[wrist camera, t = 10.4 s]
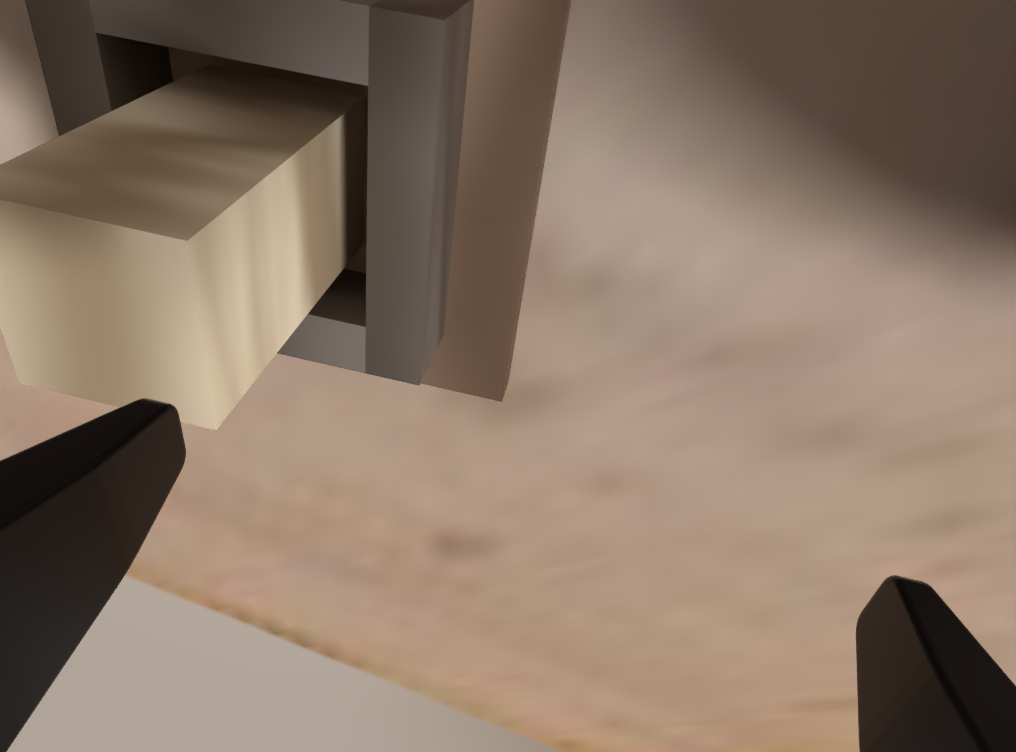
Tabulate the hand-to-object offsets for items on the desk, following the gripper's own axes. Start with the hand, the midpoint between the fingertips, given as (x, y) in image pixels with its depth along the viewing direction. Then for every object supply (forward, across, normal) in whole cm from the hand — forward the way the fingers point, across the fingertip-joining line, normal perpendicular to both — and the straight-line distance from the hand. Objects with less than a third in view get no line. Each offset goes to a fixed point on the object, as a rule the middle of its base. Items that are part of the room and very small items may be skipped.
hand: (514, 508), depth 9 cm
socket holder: (+12, +8, +1) cm, 14 cm away
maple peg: (+11, +8, +1) cm, 14 cm away
